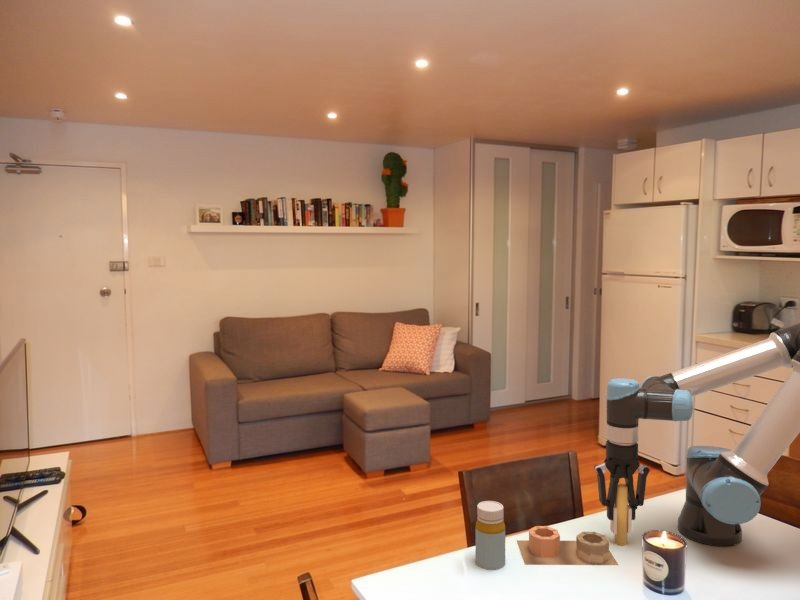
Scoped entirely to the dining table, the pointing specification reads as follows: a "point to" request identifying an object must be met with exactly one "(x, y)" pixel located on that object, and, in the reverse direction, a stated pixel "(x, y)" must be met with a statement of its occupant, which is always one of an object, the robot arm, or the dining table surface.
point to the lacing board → (563, 558)
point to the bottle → (490, 535)
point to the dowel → (621, 514)
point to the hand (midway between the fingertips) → (620, 531)
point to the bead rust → (544, 541)
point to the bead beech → (592, 547)
